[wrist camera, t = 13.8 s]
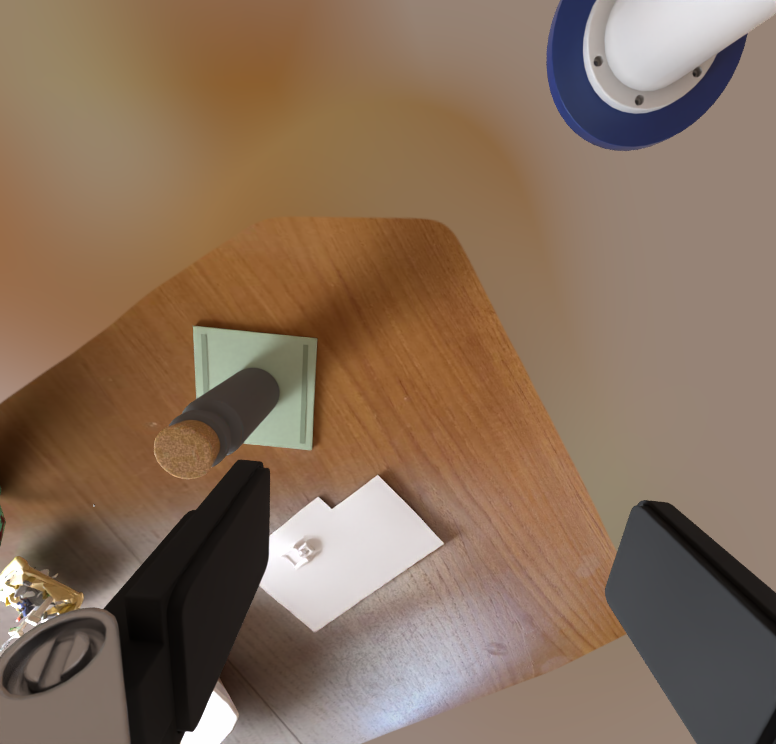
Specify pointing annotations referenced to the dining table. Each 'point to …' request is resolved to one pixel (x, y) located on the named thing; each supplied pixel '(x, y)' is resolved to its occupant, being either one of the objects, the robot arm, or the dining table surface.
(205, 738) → the bowl
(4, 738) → the robot arm
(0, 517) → the mug
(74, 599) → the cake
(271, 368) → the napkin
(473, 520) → the dining table surface
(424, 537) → the paper
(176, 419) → the bottle
